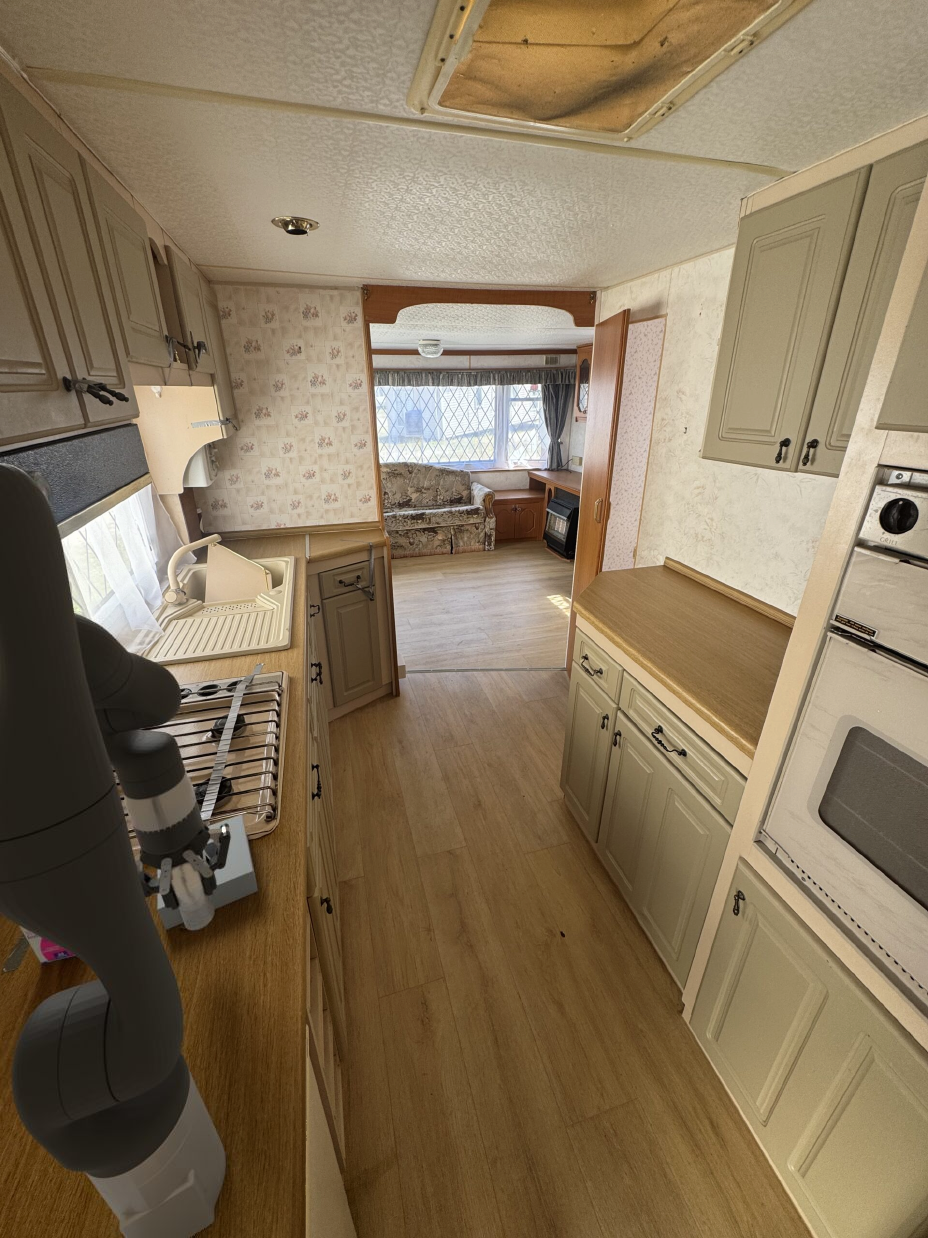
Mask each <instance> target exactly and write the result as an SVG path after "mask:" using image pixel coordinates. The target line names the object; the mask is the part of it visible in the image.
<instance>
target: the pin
mask: <svg viewBox="0 0 928 1238" xmlns="http://www.w3.org/2000/svg"><path fill="white" fill-rule="evenodd" d="M170 884H171V887H172V890H173V893H174V896H175V898H176V901H177V904H178V907H179V910H180V913H181V916H182V919H183V921H184V922H183V924H184V927H185V928H186V929H187V930H189V931H197V930H201V929H203V928H204V927H206V926H207V925H208V924H209V923H210V922H211V921H212V919H213V918H214V915H215V909H214V908H213V905H212V902H211V898H210V896H208V895H207V892H206V888H205V885H204V882H203V875H202V874H201V873H200V871H199V870H198V871H197V870H196V869H195V868H194V867H193V866H192V865H191V864H190V862H187V863H184V864H181V865H179V866H176V867H173V868H171V877H170Z"/></svg>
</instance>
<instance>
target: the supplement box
mask: <svg viewBox="0 0 928 1238" xmlns="http://www.w3.org/2000/svg"><path fill="white" fill-rule="evenodd" d="M19 928H20V930H21V932H22V933H23V934H24V937H25V938H26V939H27V942H28V943H29V945H30V946H31V948H32V950H33V952H34V954H35V955H36V957H37V959H38V961H39V962H40V964H41V965H45V964H48V963H52V962H55V961H59V960H63V959H68V958H73V957H76V956H75V955H74V954H72V953H70V952H68V951H67V950H65V949H63V948H61V947H59V946H57V945H55V944H54V943H52V942H50V941H48V940H46V939H44V938H42V937H40V936H38V935H36V934H34V933H32V932H30V931H29V930H27V929H25V928H23V927H21V926H19Z"/></svg>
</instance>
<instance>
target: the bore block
mask: <svg viewBox="0 0 928 1238" xmlns="http://www.w3.org/2000/svg"><path fill="white" fill-rule="evenodd" d="M225 823H227V824H229V828H230V835H231V839H230V844H229V850H228V855H227V860H226V865H225V867H224V868H223V869H217V870H215V871H214V873H215V877H216V882H217V888H216V889H215V890H213V894H212V895H210V898H211V902H212V905H213V908H214V910H216V909H218V908H221V907H223V906H226V905H228V904H231V903H233V902H235V901H238V900H241V899H242V898H245V897H248V896H249V895H251V894H254V893H256V892H257V893H258V891H259V889H258V885H257V879H256V873H255V869H254V863H253V858H252V854H251V848H250V844H249V839H248V833H247V830H245V829H246V826H245V821H244V817H243V814H239V815H236V816H234V817H231V818H227V819H225V820H221V821H218V822H216V823H213V824H211V825H207V826H208V827H209V829H218V828H220V826H221V825H222V824H225ZM246 833H247V834H246ZM216 846H217V845H216V844H214V841H213V840H212V839H209V841H208V843H207V845H206V846H205V848H204V850H205V852H206V854H207V855H208V856H209V857H210V858H212V857H213V856H215V851H216ZM159 876H160V870H159V869H157V878H159ZM157 911H158V914H159V917H160V920H161V921H162V924H163V926H164V929H165V931H167V930H169V929H171V928H173V927H176V926H178V925H182V924H184V921H183V919H182V916H181V913H180V910H179V907H178V909H175V910H173V911H172V908H171V907H170V908H166V907H165V904H164V902H163V899H162V896H161V894H159V893H157Z"/></svg>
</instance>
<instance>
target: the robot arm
mask: <svg viewBox="0 0 928 1238" xmlns="http://www.w3.org/2000/svg"><path fill="white" fill-rule="evenodd" d="M50 505H51V504H50V503H49V501H48V498H47V497H46V495H45V494H44V492H43V491H42V490H41V488H40V486H39V484H38V483H37V482H36V481H35V480H34V479H33V477H31V476H30V475H28V473H27V472H26V471H24V470H22V468H19V467H17V466H15V465H12V464H9V463H1V462H0V915H1V916H2V917H4V918H6V919H7V920H9V921H10V922H13V924H16V925H18V926H19V927H20V926H21V927H23V928H25V929H27V930H29V931H30V932H32V933H34V934H36V935H38V936H40V937H42V938H44V939H46V940H48V941H50V942H52V943H54V944H55V945H57V946H59V947H61V948H63V949H65V950H67V951H68V952H70V953H72V954H74V955H75V956H74V957H77V958H78V959H80V960H81V961H82V962H84V963H85V964H86V966H87V967H89V968H90V969H91V970H92V971H93V973H94V974H95V976H97V979H95V980H91V981H88V982H85V983H81V984H78V985H76V986H72V987H69V988H67V989H64V990H61V991H59V992H56V993H54V994H52V995H51V996H48V997H47V998H46V999H44V1000H43V1001H42V1002H41V1003H40V1004H39V1005H38V1006H37V1007H36V1008H35V1009H34V1010H33V1012H32V1013H31V1014H30V1016H29V1017H28V1018H27V1020H26V1022H25V1023H24V1025H23V1026H22V1029H21V1031H20V1033H19V1035H18V1038H17V1040H16V1044H15V1048H14V1052H13V1056H12V1057H13V1059H12V1063H11V1074H10V1075H11V1076H10V1079H11V1092H12V1097H13V1098H12V1099H13V1102H14V1105H15V1109H16V1112H17V1115H18V1117H19V1119H20V1121H21V1123H22V1125H23V1126H24V1128H25V1129H26V1131H27V1132H28V1134H29V1135H30V1136H31V1137H32V1138H33V1140H35V1142H37V1143H38V1144H39V1145H40V1146H41V1147H42V1148H43V1149H44V1150H45V1151H47V1153H49V1155H50V1156H52V1158H54V1160H55V1161H57V1162H58V1164H60V1166H62V1167H63V1168H64V1169H66V1170H68V1171H70V1172H76V1173H85V1174H86V1176H87V1177H88V1178H89V1180H90V1182H91V1183H92V1184H93V1186H94V1187H95V1189H96V1190H97V1191H98V1193H99V1195H101V1197H102V1198H103V1199H104V1202H105V1203H106V1204H107V1205H108V1206H109V1208H110V1209H111V1211H112V1212H113V1213H114V1215H115V1216H116V1218H117V1219H118V1221H119V1226H118V1228H119V1231H120V1233H122V1235H123V1236H124V1237H125V1238H190V1237H191V1236H193V1235H194V1234H196V1233H197V1232H199V1231H200V1230H201V1229H203V1228H205V1229H207V1228H208V1227H209V1226H211V1225H212V1224H213V1223H214V1222H215V1218H216V1217H215V1206H216V1205H217V1204H216V1203H217V1201H218V1198H219V1196H220V1193H221V1190H222V1187H223V1184H224V1180H225V1176H226V1168H227V1167H226V1166H227V1161H226V1151H225V1148H224V1145H223V1142H222V1141H221V1139H220V1135H219V1133H218V1131H217V1129H216V1127H215V1125H214V1123H213V1121H212V1118H211V1116H210V1114H209V1111H208V1110H207V1107H206V1105H205V1103H204V1100H203V1099H202V1095H201V1094H200V1091H199V1090H198V1089H199V1088H198V1087H197V1085H196V1083H195V1080H194V1078H193V1076H192V1073H191V1070H190V1069H189V1067H188V1063H187V1062H186V1059H185V1057H184V1055H183V1053H182V1051H181V1050H182V1048H183V1043H184V1042H183V1040H184V1011H183V1003H182V997H181V992H180V989H179V985H178V984H179V983H178V981H177V979H176V975H175V973H174V969H173V967H172V965H171V961H170V958H169V956H168V953H167V951H166V949H165V947H164V946H165V945H164V944H163V941H162V939H161V937H160V934H159V931H158V928H157V926H156V923H155V921H154V918H153V915H152V913H151V911H150V908H149V905H148V902H147V899H146V898H149V897H151V896H153V894H158V893H159V894H161V896H162V899H163V902H164V904H165V907H166V908H170V907H171V908H172V911H173V910H175V909H178V904H177V901H176V898H175V896H174V893H173V890H172V887H171V884H170V877H171V868H173V867H176V866H179V865H181V864H184V863H187V862H190V864H191V865H192V866H193V867H194V868H195V869H196V870H197V871H198V870H199V871H200V873H201V874H202V875H203V882H204V885H205V888H206V892H207V895H208V896H210V895H212V894H213V890H215V889H216V888H217V882H216V877H215V873H214V871H215V870H217V869H223V868H224V867H225V865H226V860H227V855H228V850H229V844H230V839H231V835H230V828H229V824H227V823H225V824H222V825H221V826H220V828H218V829H209V827H208V826H209V825H206V824H205V823H204V822H203V818H202V813H201V811H200V807H199V803H198V800H197V798H196V791H195V787H194V786H193V784H192V780H191V778H190V777H189V774H188V772H187V770H186V767H185V764H184V760H183V758H182V755H181V750H180V747H179V743H178V742H177V740H176V738H175V737H174V736H173V735H172V734H170V733H168V732H166V731H159V730H146V729H149V728H155V727H161V726H162V725H165V724H168V723H169V722H170V721H172V719H174V717H176V715H177V714H178V712H179V710H180V709H181V704H182V701H183V700H182V698H183V697H182V690H181V687H180V684H179V682H178V681H177V678H175V676H174V674H172V672H171V671H170V670H169V669H167V667H165V666H164V665H161V664H160V663H157V662H156V661H154V660H151V659H148V658H146V657H144V656H142V655H140V654H136V653H134V652H131V651H128V650H127V648H125V647H124V646H123V645H122V644H121V643H120V642H119V640H118V639H117V638H116V637H115V636H113V634H112V633H110V632H109V631H108V630H107V629H106V628H104V627H103V626H102V625H100V624H99V623H98V622H95V621H93V620H91V619H90V618H88V617H85V616H83V615H81V614H79V613H76V612H75V608H74V602H73V597H72V590H71V584H70V579H69V578H70V577H69V572H68V567H67V563H66V558H65V551H64V548H63V547H64V546H63V543H62V542H63V541H62V537H61V534H60V530H59V527H58V524H57V521H56V517H55V515H54V513H53V512H54V511H53V510H52V508H51V506H50ZM114 771H115V773H114ZM115 774H116V776H115ZM116 777H117V780H118V782H119V785H120V787H121V791H122V793H123V797H124V804H125V809H126V811H127V814H128V817H129V819H130V823H131V825H132V828H133V831H134V833H135V837H136V839H137V842H138V844H139V846H140V851H139V854H137V855H136V856H135V855H134V850H133V845H132V841H131V837H130V836H131V835H130V833H129V827H128V823H127V819H126V815H125V810H124V806H123V803H122V798H121V795H120V792H119V788H118V787H119V786H118V785H117V781H116ZM209 839H212V840H213V841H214V844H216V845H217V846H216V851H215V856H213V857H212V858H210V857H209V856H208V855H207V854H206V852H205V850H204V848H205V846H206V845H207V843H208V841H209ZM143 864H144V865H147V866H149V867H151V868H154V869H157V870H158V869H159V870H160V876H159V878H158V877H157V878H154V877H153V876H152V875H150V873H148V872H147V871H146V870H145V869H144V868H143ZM210 1224H211V1225H210ZM203 1230H204V1229H203ZM200 1232H201V1231H200ZM200 1232H199V1233H200ZM197 1234H198V1233H197ZM197 1234H196V1235H197ZM194 1236H195V1235H194ZM194 1236H193V1237H194ZM191 1238H192V1237H191Z"/></svg>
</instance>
